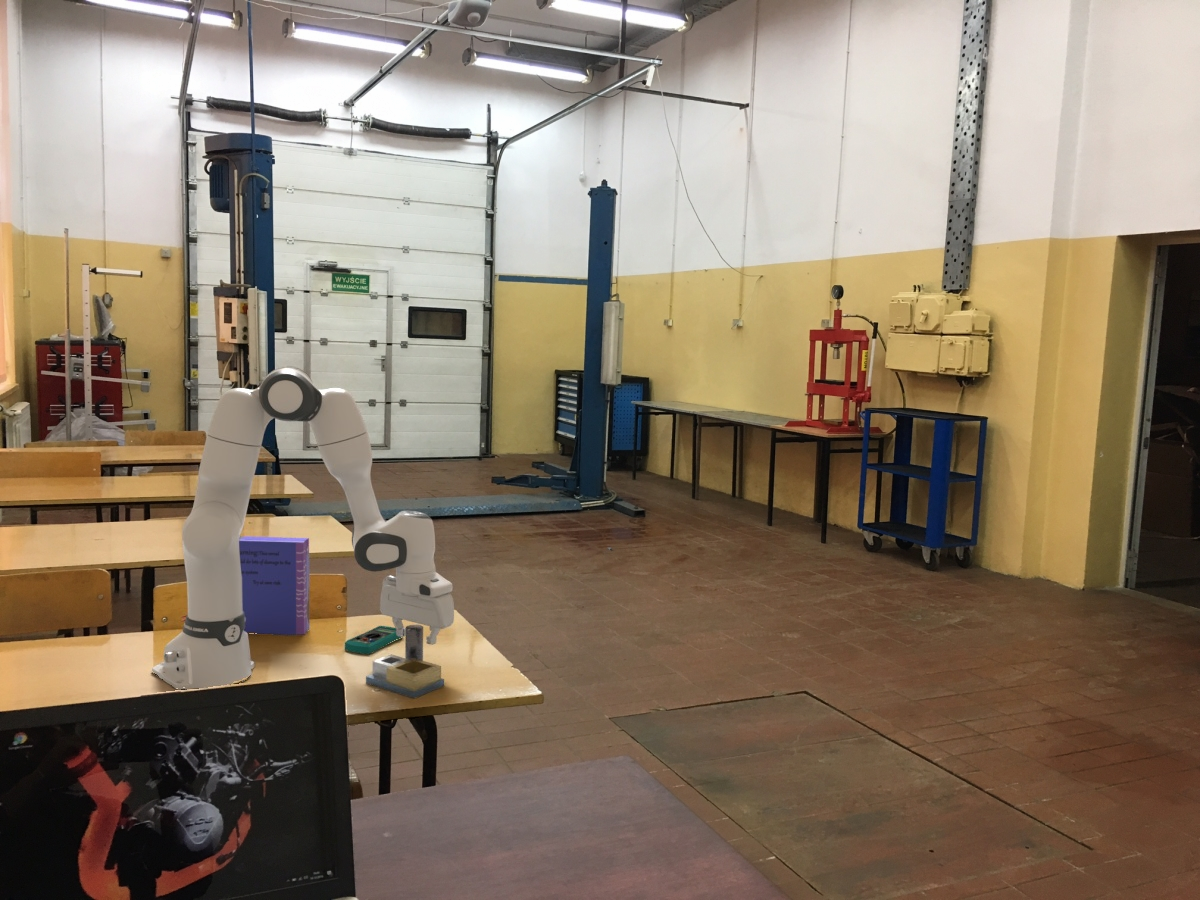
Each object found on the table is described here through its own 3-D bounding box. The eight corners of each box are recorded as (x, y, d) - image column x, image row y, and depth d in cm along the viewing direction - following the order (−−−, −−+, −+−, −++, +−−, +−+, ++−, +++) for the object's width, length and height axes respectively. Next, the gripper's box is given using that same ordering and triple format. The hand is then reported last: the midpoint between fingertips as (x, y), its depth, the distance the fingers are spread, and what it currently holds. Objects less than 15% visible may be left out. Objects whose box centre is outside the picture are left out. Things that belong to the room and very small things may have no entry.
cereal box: (309, 629, 244) (309, 537, 241) (304, 635, 239) (303, 541, 236) (240, 627, 243) (239, 535, 240) (233, 633, 239) (232, 539, 236)
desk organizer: (366, 683, 208) (366, 663, 208) (396, 671, 216) (396, 652, 216) (414, 698, 201) (414, 677, 200) (444, 685, 208) (444, 665, 208)
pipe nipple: (401, 665, 220) (401, 627, 219) (413, 660, 223) (414, 623, 222) (414, 669, 218) (414, 631, 217) (426, 664, 221) (426, 626, 220)
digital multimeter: (342, 652, 229) (342, 640, 229) (379, 634, 243) (379, 623, 242) (367, 657, 226) (367, 645, 226) (404, 639, 240) (404, 628, 240)
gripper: (373, 577, 221) (373, 634, 223) (439, 591, 210) (439, 652, 212) (393, 571, 226) (393, 628, 228) (458, 585, 215) (458, 644, 217)
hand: (416, 639), depth 220 cm, fingers open, 8 cm apart
